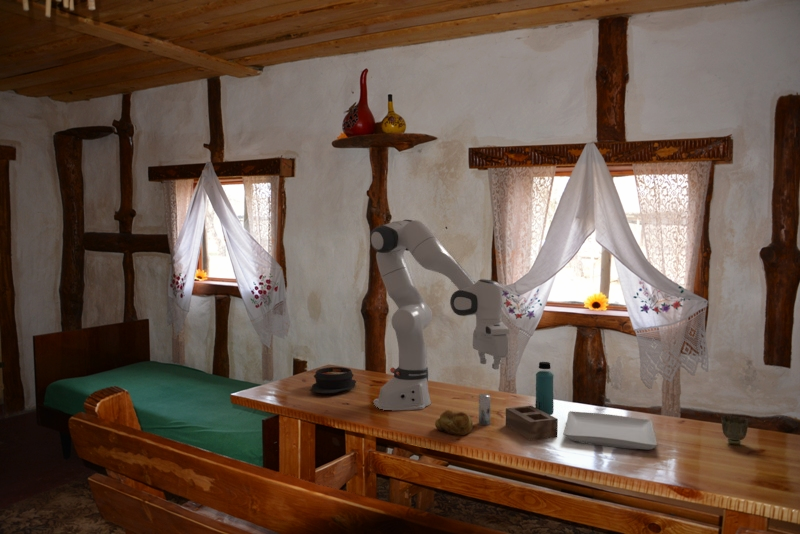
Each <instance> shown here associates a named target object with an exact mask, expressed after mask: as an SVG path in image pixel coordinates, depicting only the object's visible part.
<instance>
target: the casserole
mask: <svg viewBox="0 0 800 534" xmlns="http://www.w3.org/2000/svg"><path fill="white" fill-rule="evenodd" d="M354 376H355V375H354V373H353V371H352V369H350V368H347V367H342V366H329V367H322V368H319V369H317V370H316V371H315V374H314V375H313V377H314V379H315V383H313V384H312V385H311V387H310V389H309V391H311V392H312V393H317V394H327V395H328V394H337V393H344V392H347V391H348V390H349V391H350V390H351V389H353V388H355V387H356V383H357V380H355V379H353V377H354Z"/></svg>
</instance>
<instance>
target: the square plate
mask: <svg viewBox="0 0 800 534" xmlns="http://www.w3.org/2000/svg"><path fill="white" fill-rule="evenodd" d="M563 435H564V436H565V437H566V438H567V439H568V440H569V441H573V442H578V443H583V444H587V445H596V446H605V447H614V448H621V449H622V448H623V449H632V450H647V451H648V450H653V449H655V448H656V447H657V446H658V440H657V437H656V434H655V427H654V422H653V420H651V419H648V418H639V417H632V416H631V417H630V416H623V415H617V414H608V413H607V414H606V413H596V412H586V411H585V412H584V411H583V412H582V411H573V410H570V411H568V414H567V420H566V423H565V426H564V430H563Z"/></svg>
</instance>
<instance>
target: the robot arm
mask: <svg viewBox="0 0 800 534" xmlns="http://www.w3.org/2000/svg"><path fill="white" fill-rule="evenodd" d="M369 242H370V244H371V246H372V249H373V250H374V251H376V254H375V258H376V263H377V267H378V271H379V273H380V277H381V279H382V282H383V284H384V286H385V290H386V292H387V296H389V298H390V299H392V301H393V302H394V303H395V305H396V307H397V310H396V311H395V312H394V313H393V314H392V316H391V322H390V323H391V326H392V328H393V330H394V331H395V336H396V342H397V346H398V366H397V368H395V367H391V368H390V369H389V370H390V371H389V372H390V373H392V374H393V377H392V378H391V379H390V380H389V381H387V382H386V383H385V384H384V385H382V386H381V387H380V389H379V390H380V391H379V395H378V398H375V399H374V400H373V401H372V402H373V403H374V404H373V403H372V404H373V405H375V406H376V407H375V406H374V407H375V408H377V407H378V408H379V409H378V408H377V409H378V410H380V409H383V410H382V411H384V410H392V411H410V410H411V411H413V410H424V409H425V407H427V406H430V405H431V404H432V400H431V398H430V394H429V387H428V380H429V367H428V365H427V364H428V359H427V358H428V348H427V347H428V346H427V345H426V343H425V339H424V333H423V330H424V329H426V328H427V327H428V326H429V325H430V324H431V322H432V319H433V311H432V309H431V307H430V306H429V305H428V304H427V303H426V301H425V300H424V297H423V296H422V294H421V293H420V291H419V290H418V288H417V286H416V284H415V282H414V279H413V277H412V274H411V272H410V269H409V267H408V264H407V263H406V260H405V258H404V257H405V256H404V255H405V251H407V252H409V253H410V254H411V255H412V257H413V258H414V259H415V261H416V262H417V263H418V265H420V266H421V268H422V267H423V269H425V270H428V271H432V272H436V273H439V274H441V275H444V276H445V277H447V278H448V279H449V281H451V283H453V285H454V286H455V287H456V288H457V289H458V290H455V291H454V292H453V293H452V295H451V297H450V301H449V302H450V303H449V304H450V305H449V306H450V308H451V310H452V312H453V313H454V314H455V315H457V316H461V317H468V316H473V315H475V321H476V323H475V324H476V325H475V327H474V328H475V329H473V333H472V348H473V349H474V350H475V351H478V352H477V353H478V357H479V363H480V364H481V365H486V364H487V358H486V354H487V355H489V356H492V357H493V359H492V360H493V363H492V365H491V368H492V369H494V370H499V369H500V364H501V360H502V359H503V358H507V356H508V352H509V338H508V335H509V333H510V329H509V327H508V326H507V325H505V323H504V322H503V315H502V307H503V297H502V289H501V288H502V287H501V285H500V284H499V282H497V281H495V280H492V279H485V278H484V279H478V280H477V281H475V280H474V279H473V278H472V277H471V276H470V275H469V274H468V272H467V271H466V270H465V269H464V268H463V266H462V265H460V264H459V262H458V261H457V260H455V258H454V257H453V256H452V255H451V254H450V252H448V250H447V249H446V248H445V246H443V244H442V243H441V242H440V241H439V239H438V238H437V237H436V236H435V234H434V233H433V232H432V231H431V229H429V227H428V226H426V224H424V223H423V222H421V221H419V220H415V219H414V220H412V219H404V220H396V221H391V222H389V223H386V224H382V225H378V226H376V227H374V228H373V229H372V230H371V232H370V235H369Z"/></svg>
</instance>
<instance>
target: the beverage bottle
mask: <svg viewBox="0 0 800 534" xmlns="http://www.w3.org/2000/svg"><path fill="white" fill-rule="evenodd" d="M551 367H552V366H551V363H550V362H549V361H539V363H538V369H541V370H539V371H537V372H536V374H535V403H534V404H535V406H534V407H535V408H537V409H539V410H541V411H543V412H545V413H547V414H549V415H551V416H553V414H554V407H555V404H554V377H555V376H554V374H553V373H552V372H551V371H549V370H551Z"/></svg>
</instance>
